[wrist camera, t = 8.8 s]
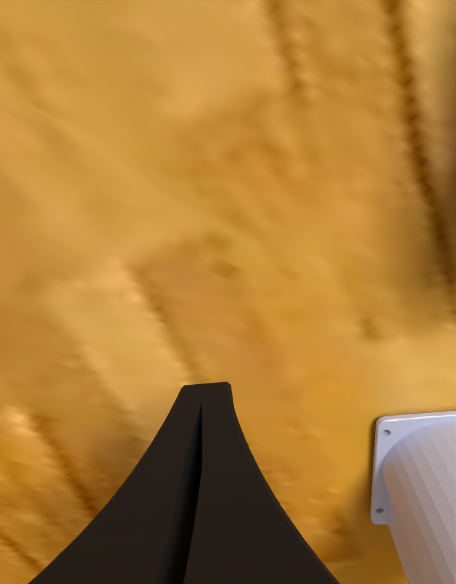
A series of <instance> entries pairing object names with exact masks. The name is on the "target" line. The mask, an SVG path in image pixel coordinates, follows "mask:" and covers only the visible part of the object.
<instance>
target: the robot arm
mask: <svg viewBox="0 0 456 584" xmlns="http://www.w3.org/2000/svg"><path fill="white" fill-rule="evenodd" d="M384 430H387V431H384ZM370 518H371V521H372V523H374V524H376V525H381V524H388V527H389V530H390V533H391V535H392V538H393V541H394V544H395V547H396V550H397V553H398V556H399V558H400V561H401V564H402V567H403V570H404V573H405V576H406V578H407V581H408V584H456V410H455V411H442V412H430V413H417V414H405V415H393V416H383V417H381V418H379V419H378V420H377V422H376V432H375V447H374V463H373V478H372V494H371V509H370ZM28 584H340V583H339V582H338V581H337V580H336V578H335V577H334V576H333V575H332V574H331V573H330V571H329V570H328V569H327V568H326V566H325V565H324V564H323V563H322V562H321V560H320V559H319V558H318V557H317V555H316V554H315V553H314V551H313V550H312V549H311V547H310V546H309V545H308V544H307V542H306V541H305V540H304V538H303V537H302V535H301V534H300V533H299V531H298V530H297V528H296V527H295V525H294V524H293V523H292V521H291V520H290V518H289V517H288V515H287V514H286V513H285V511H284V510H283V508H282V507H281V505H280V503H279V502H278V500H277V499H276V497H275V495H274V494H273V492H272V490H271V489H270V487H269V485H268V483H267V482H266V480H265V478H264V476H263V475H262V473H261V471H260V469H259V467H258V465H257V463H256V461H255V459H254V457H253V455H252V453H251V451H250V449H249V446H248V444H247V442H246V440H245V437H244V435H243V432H242V430H241V427H240V425H239V422H238V419H237V416H236V413H235V409H234V404H233V397H232V390H231V385H230V384H229V383H228V382H218V383H207V384H195V385H184V386H183V387H182V388H181V390H180V392H179V394H178V396H177V398H176V400H175V402H174V404H173V406H172V408H171V410H170V412H169V414H168V416H167V418H166V419H165V421H164V423H163V425H162V426H161V428H160V430H159V431H158V433H157V435H156V436H155V438H154V440H153V441H152V443H151V445H150V446H149V448H148V449H147V451H146V452H145V454H144V455H143V457H142V458H141V459H140V461H139V462H138V464H137V465H136V467H135V468H134V470H133V471H132V473H131V474H130V475H129V477H128V478H127V479H126V481H125V482H124V483H123V485H122V486H121V487H120V488H119V490H118V491H117V492H116V493H115V495H114V496H113V497H112V498H111V500H110V501H109V502H108V503H107V504H106V506H105V507H104V508H103V509H102V510H101V511H100V512H99V514H98V515H97V516H96V517H95V518H94V519H93V520H92V522H91V523H90V524H89V525H88V526H87V527H86V528H85V529H84V530H83V531H82V532H81V534H80V535H79V536H78V537H77V538H76V539H75V540H74V541H73V542H72V543H71V544H70V545H69V546H68V547H67V548H65V549H64V550H63V551H62V552H61V553H60V554H59V555H58V556H57V557H56V558H55V559H54V560H53V561H52V562H51V563H50V564H49V565H48V566H47V567H46V568H45V569H44V570H43V571H42V572H41V573H40V574H39V575H37V576H36V577H35V578H34V579H33V580H32V581H30V582H29V583H28Z"/></svg>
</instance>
